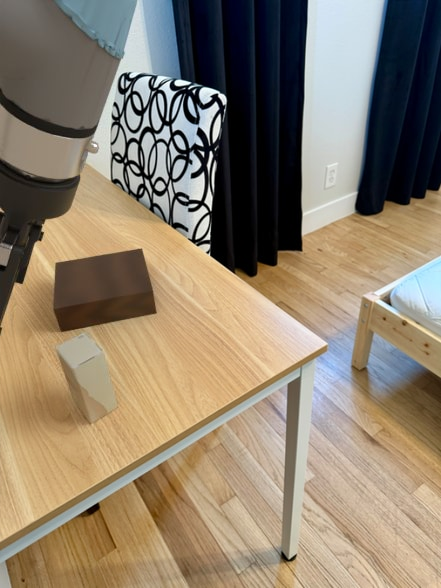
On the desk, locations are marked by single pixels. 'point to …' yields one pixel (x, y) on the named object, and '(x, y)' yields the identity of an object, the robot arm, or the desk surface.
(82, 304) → the block
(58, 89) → the robot arm
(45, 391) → the desk surface
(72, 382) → the box
